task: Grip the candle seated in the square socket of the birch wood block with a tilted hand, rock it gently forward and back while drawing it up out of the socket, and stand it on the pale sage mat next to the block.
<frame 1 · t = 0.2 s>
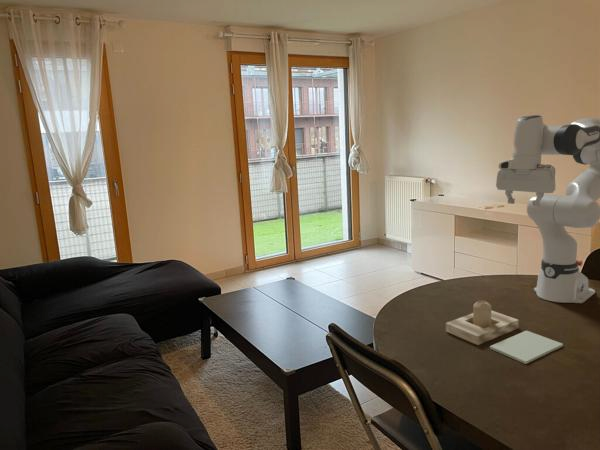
hand: (523, 204, 160), 39 cm above the table, tool pointing down, fingers open, 8 cm apart
sage mat: (526, 347, 141), on the table
candle: (481, 330, 155), resting in socket block
socket block: (481, 329, 155), on the table
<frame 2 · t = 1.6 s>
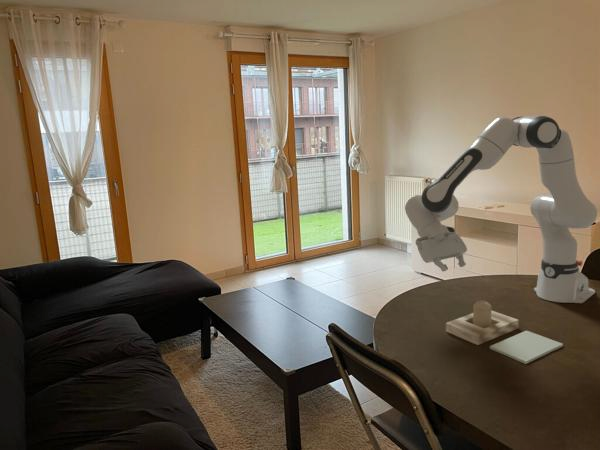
hand: (454, 268, 161), 19 cm above the table, tool tilted 45°, fingers open, 8 cm apart
nothing on the table moved.
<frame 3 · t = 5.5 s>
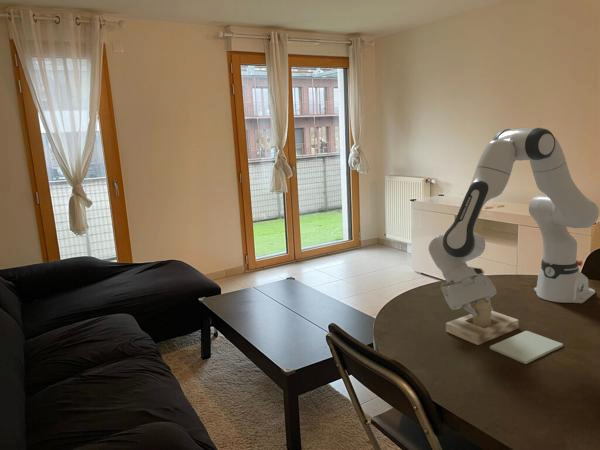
hand: (483, 313, 153), 6 cm above the table, tool tilted 45°, fingers closed on candle, 5 cm apart
candle: (481, 330, 155), resting in socket block, touching gripper
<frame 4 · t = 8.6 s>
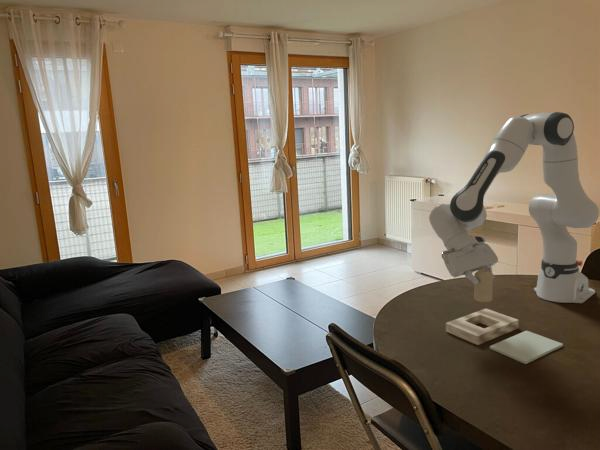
hand: (485, 281, 151), 17 cm above the table, tool tilted 45°, fingers closed on candle, 5 cm apart
candle: (483, 299, 153), point 11 cm above the table, touching gripper
when the fingers open (8 cm above the table, at t = 11.8 s): candle stays where it is, resting on sage mat.
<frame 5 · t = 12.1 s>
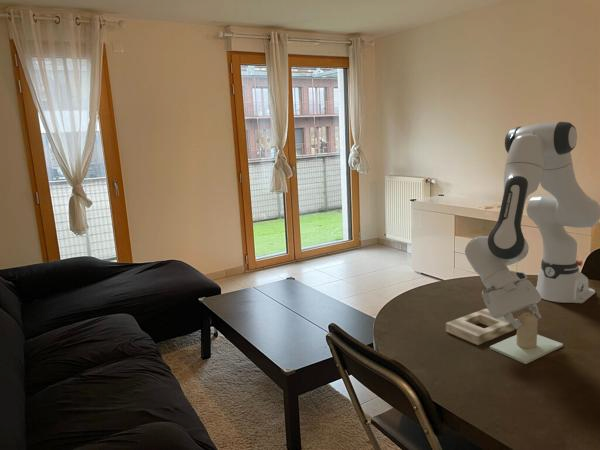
hand: (529, 322, 139), 8 cm above the table, tool tilted 45°, fingers open, 8 cm apart
candle: (526, 345, 141), point 1 cm above the table, touching sage mat
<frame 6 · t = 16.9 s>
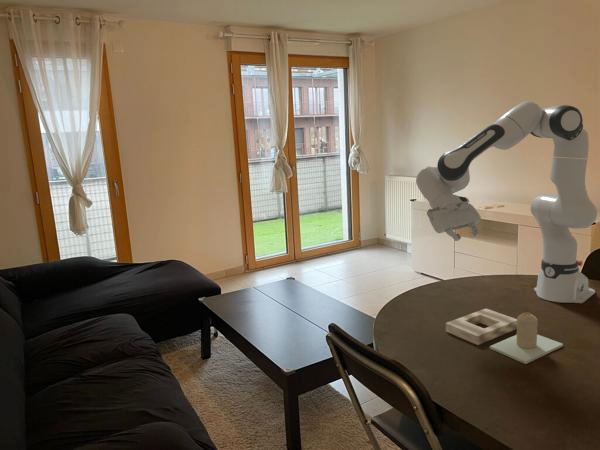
hand: (468, 237, 159), 29 cm above the table, tool tilted 45°, fingers open, 8 cm apart
nothing on the table moved.
at the end: candle inside the target area on the sage mat (0.1 cm from its centre), point 0.6 cm above the sage mat's base; candle tilted 0°; the gripper is holding nothing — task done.
